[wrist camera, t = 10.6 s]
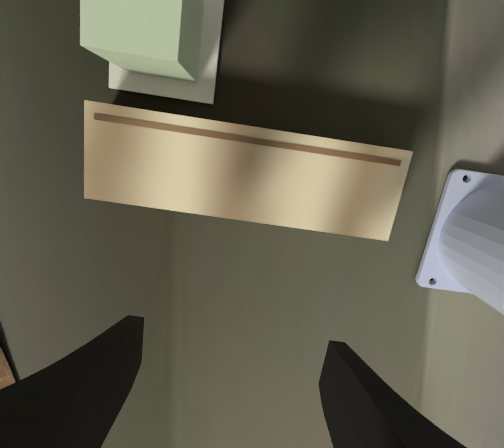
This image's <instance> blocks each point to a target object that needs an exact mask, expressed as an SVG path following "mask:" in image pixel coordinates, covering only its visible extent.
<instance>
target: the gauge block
mask: <svg viewBox="0 0 504 448" xmlns="http://www.w3.org/2000/svg"><path fill="white" fill-rule="evenodd" d="M204 7H205V2H204V0H80V45H81V46H82V47H84V48H86V49H88V50H90V51H91V52H93V53H95V54H97V55H99V56H100V57H102V58H104V59H106V60H108V61H109V62H111V63H113V64H115V65H117V66H119V67H120V68H122V69H124V70H126V71H129V72H135V73H141V74H147V75H153V76H159V77H165V78H172V79H178V80H184V81H190V82H196V83H197V80H198V70H199V59H200V49H201V38H202V28H203V17H204Z"/></svg>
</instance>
